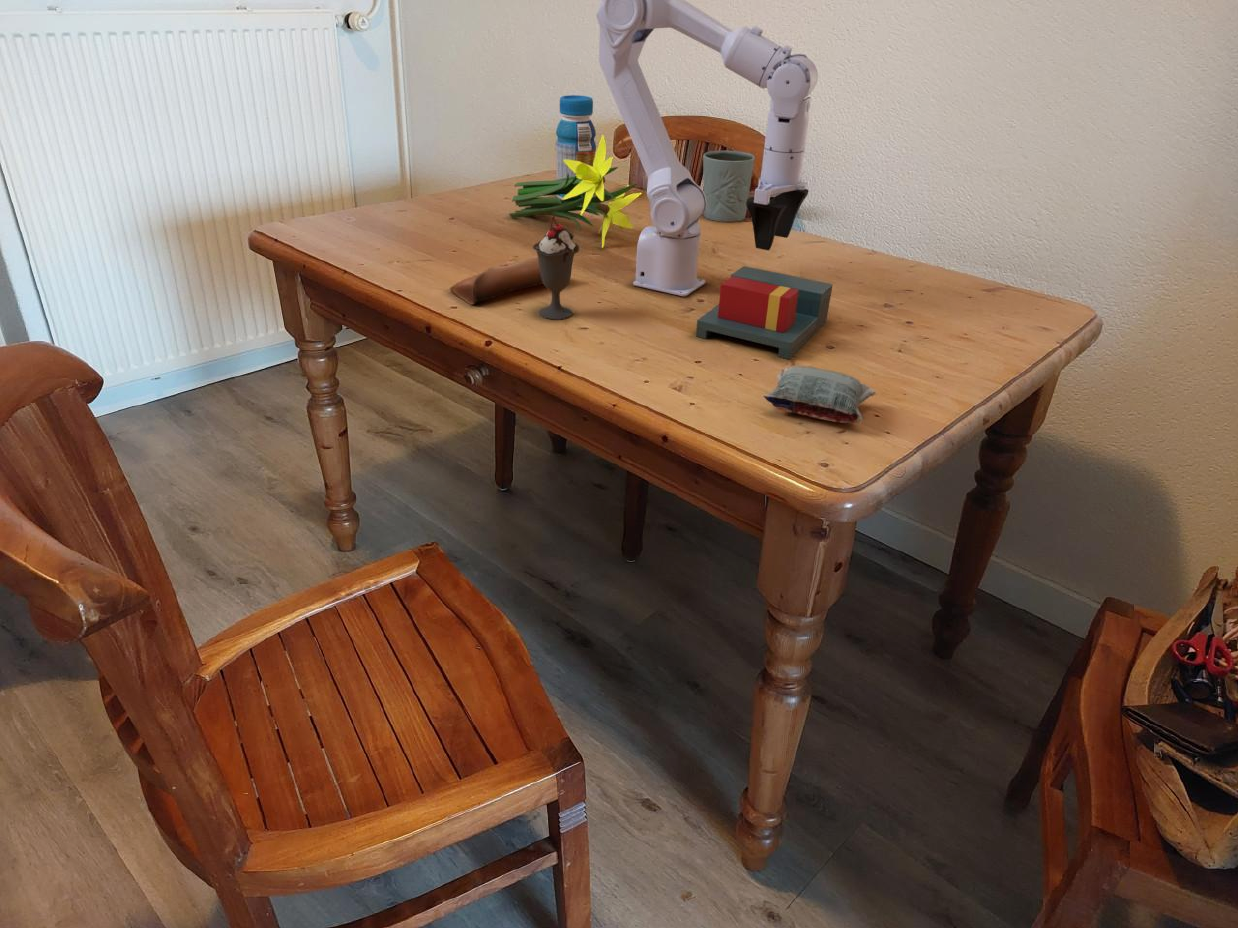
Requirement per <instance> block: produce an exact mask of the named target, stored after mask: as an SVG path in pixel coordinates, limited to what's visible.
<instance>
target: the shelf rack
mask: <svg viewBox="0 0 1238 928" xmlns="http://www.w3.org/2000/svg"><path fill="white" fill-rule="evenodd" d="M732 276H734V277H739V278H744V279H749V280H753V281H758V282H763V283H768V284H773V285H777V286H783V287H788V288H792V289H797V290H799V293H798V300H797V307H796V314H795V320H794V324H793V325H792V326H791V327H790V328H789V329H788V330H787V331H786V332H784V333H783V332H778V331H773V330H769V329H765V328H761V327H757V326H753V325H748V324H744V323H740V322H735V321H731V320H727V319H722V318H718V309H719V304H717V305H716V306H714V307H713V308H712V309H711V310H709V311H707V313H705V314H704V315H703V316H701V317H699V318H698V319H697V320H696V330H695V337H697V338H701V339H704V340H706V339H708V338H709V337H710V336H712V335H713V334H714V333H716V334H720V335H724V336H729V337H733V338H737V339H741V340H745V341H749V342H753V343H756V344H762V345H765V346H770V347H774V348H776V349H777V348H778V353H777V354H778V358H781V359H785V360H790V359H791V358H792V357H793V356H794V355H795V354H796V353H797V352H798V351H800V349H801V348H802V347H803V346H804V345H805V344H806V343H808V341H809V340H810V339H811V338H812V337H813V336H814V335H815V334H816V333H817V332H819V330H821V328H822V327H824V325H826V323H827V320H828V315H829V314H828V313H829V310H830V309H829V308H830V302H831V297H832V296H831V295H832V291H833V284H832V283H829V282H824V281H818V280H814V279H810V278H805V277H799V276H794V275H790V274H786V273H781V272H775V271H770V270H766V269H762V268H757V267H751V266H746V265H743V266H742V267H740V268H739V269H737V270H736V271H734V272H733V273H731V274H730V277H732Z"/></svg>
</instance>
